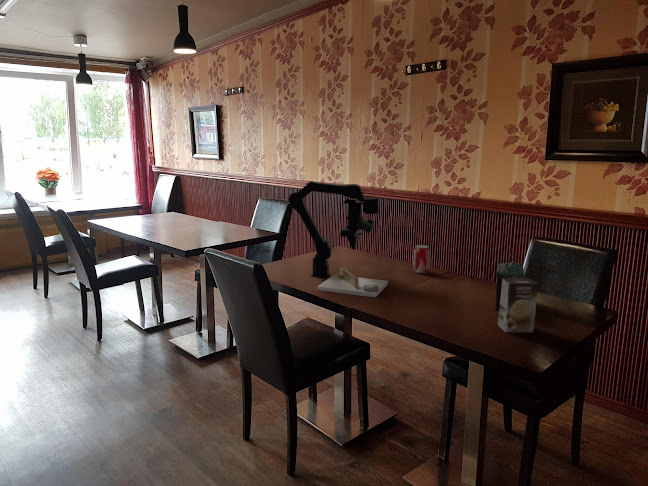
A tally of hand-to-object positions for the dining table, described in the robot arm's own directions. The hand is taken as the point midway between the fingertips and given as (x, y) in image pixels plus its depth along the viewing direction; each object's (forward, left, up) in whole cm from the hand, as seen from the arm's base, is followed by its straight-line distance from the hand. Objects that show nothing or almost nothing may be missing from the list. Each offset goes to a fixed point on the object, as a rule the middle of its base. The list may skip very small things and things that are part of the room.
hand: (353, 249), depth 211 cm
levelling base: (+5, -15, -12) cm, 20 cm away
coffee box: (+67, -37, -12) cm, 77 cm away
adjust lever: (+2, -13, -10) cm, 17 cm away
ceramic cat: (+64, -14, -12) cm, 67 cm away
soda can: (+26, +18, -12) cm, 34 cm away
